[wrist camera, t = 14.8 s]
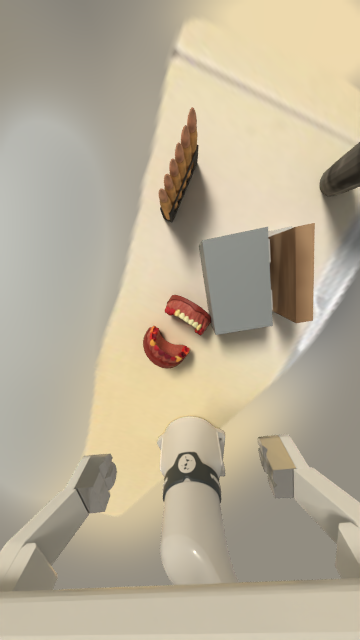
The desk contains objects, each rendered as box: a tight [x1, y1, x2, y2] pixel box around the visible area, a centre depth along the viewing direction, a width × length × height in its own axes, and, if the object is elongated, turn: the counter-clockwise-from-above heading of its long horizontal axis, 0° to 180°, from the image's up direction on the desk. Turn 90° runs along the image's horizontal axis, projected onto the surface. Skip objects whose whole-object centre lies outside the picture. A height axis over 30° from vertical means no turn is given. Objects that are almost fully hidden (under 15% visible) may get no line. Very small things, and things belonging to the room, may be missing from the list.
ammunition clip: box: [159, 107, 198, 222], centre depth 27 cm, size 11×2×12 cm, turn 154°
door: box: [268, 223, 315, 323], centre depth 31 cm, size 4×14×10 cm, turn 11°
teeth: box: [143, 295, 211, 368], centre depth 37 cm, size 10×8×15 cm
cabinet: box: [199, 227, 292, 335], centre depth 33 cm, size 16×18×8 cm
